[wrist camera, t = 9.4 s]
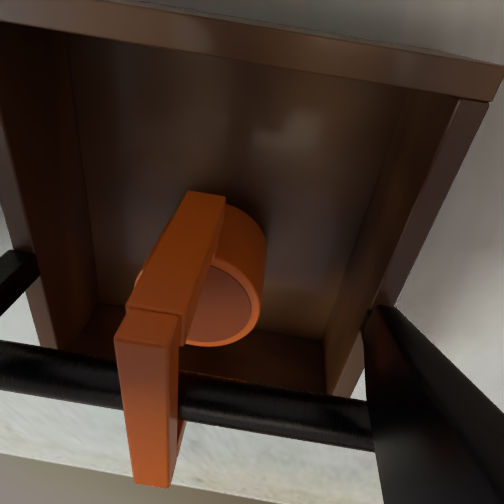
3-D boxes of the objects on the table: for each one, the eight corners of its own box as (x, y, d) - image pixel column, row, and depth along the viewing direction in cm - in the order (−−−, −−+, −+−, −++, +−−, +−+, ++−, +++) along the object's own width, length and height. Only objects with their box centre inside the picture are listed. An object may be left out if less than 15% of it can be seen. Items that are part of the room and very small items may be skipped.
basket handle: (16, 272, 13) (-102, 382, 9) (8, 245, 13) (-122, 351, 9) (384, 333, 13) (423, 470, 9) (396, 310, 13) (443, 446, 9)
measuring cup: (163, 278, 17) (70, 480, 10) (161, 145, 13) (7, 321, 6) (259, 294, 17) (233, 508, 10) (284, 166, 13) (271, 364, 6)
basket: (91, 306, 20) (46, 371, 16) (42, -15, 12) (-66, -29, 8) (331, 346, 20) (340, 420, 16) (443, 51, 12) (509, 67, 8)
